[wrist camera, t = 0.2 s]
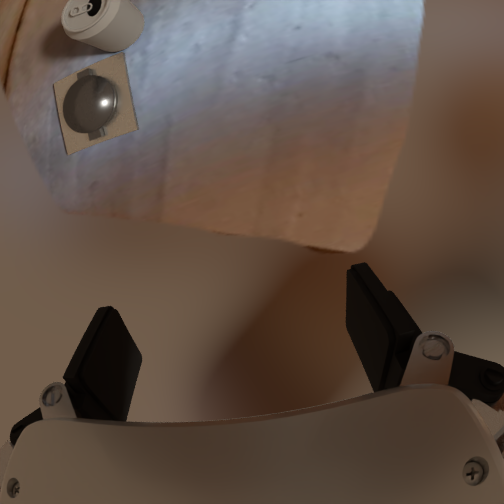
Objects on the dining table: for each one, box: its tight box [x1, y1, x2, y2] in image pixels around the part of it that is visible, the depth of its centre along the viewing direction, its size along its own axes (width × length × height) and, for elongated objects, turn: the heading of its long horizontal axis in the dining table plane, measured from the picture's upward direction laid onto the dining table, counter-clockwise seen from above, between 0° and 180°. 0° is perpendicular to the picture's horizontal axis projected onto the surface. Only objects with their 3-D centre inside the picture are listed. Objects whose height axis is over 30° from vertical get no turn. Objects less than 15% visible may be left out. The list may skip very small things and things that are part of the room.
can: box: [61, 0, 145, 52], centre depth 22 cm, size 8×8×12 cm
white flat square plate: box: [54, 52, 139, 155], centre depth 31 cm, size 12×12×2 cm
